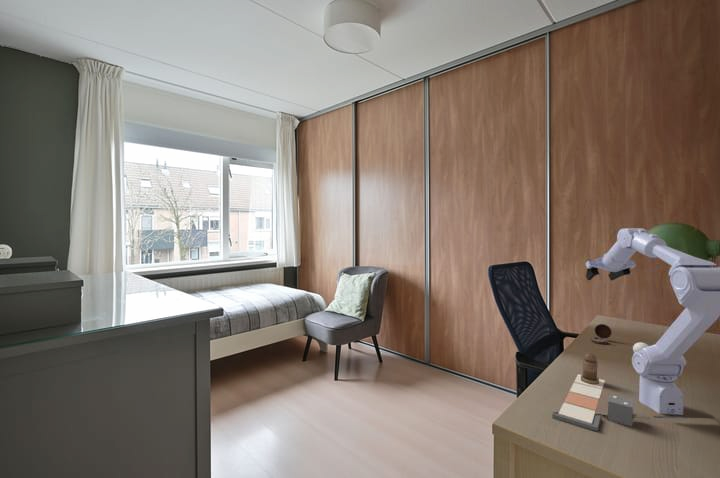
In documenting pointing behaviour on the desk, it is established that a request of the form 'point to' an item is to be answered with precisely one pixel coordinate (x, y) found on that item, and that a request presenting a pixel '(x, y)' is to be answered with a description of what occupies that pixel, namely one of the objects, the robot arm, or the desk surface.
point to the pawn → (590, 369)
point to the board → (577, 413)
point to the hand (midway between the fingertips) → (599, 277)
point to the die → (620, 410)
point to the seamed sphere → (639, 346)
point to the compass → (602, 334)
